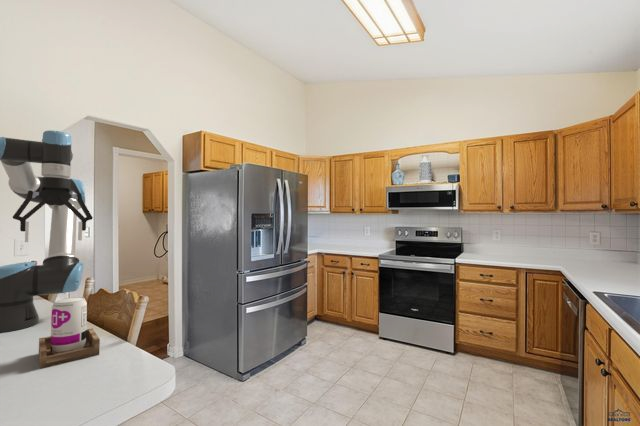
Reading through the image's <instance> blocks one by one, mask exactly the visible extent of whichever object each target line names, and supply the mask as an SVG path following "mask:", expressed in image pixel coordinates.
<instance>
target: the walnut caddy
mask: <svg viewBox="0 0 640 426" xmlns="http://www.w3.org/2000/svg"><path fill="white" fill-rule="evenodd" d="M97 334H98V333H96V331H95V330H94V328H86V346H85V347H84V348H82V349H78V350H73V351H69V352H64V353H60V354H55V355H53V354H52V353H50V352H51V335H50V336H45V337H40V338H38V359H39V368H40V369H44V368H49V367H53V366H58V365H61V364H66V363H70V362H73V361H78V360H83V359H86V358H91V357H95V356H100V347H101V346H100V345H101V344H100V343H101V341H100V337H99V336H98V335H97Z"/></svg>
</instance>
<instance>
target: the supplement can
mask: <svg viewBox="0 0 640 426" xmlns="http://www.w3.org/2000/svg"><path fill="white" fill-rule="evenodd" d="M85 298H86V297H83V296H73V297H72V296H71V297H64V298H60V299H56V300H55V301H54V303H53V304H52V306H51V319H50V320H51V321H50V322H51V326H50V327H51V328H50V336H51V352H50V353H52V354H53V355H55V354H60V353H64V352H69V351H73V350H78V349H82V348H84V347H85V346H86V330H87V323H88V322H87V319H88V317H87V316H88V315H87V314H88V312H87V311H88V302H87V300H86V299H85Z"/></svg>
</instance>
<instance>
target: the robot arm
mask: <svg viewBox="0 0 640 426" xmlns="http://www.w3.org/2000/svg"><path fill="white" fill-rule="evenodd" d="M72 144H73V142H72V136H71V134H69V133H67V132H64V131H59V130H50V129H49V130H45V131H43V132H42V139H41V141H37V140H36V141H35V140H30V139H29V140H26V139H19V138H12V137H10V138H9V137H4V136H0V164H1V165H2V167H3V169H4V171H5V172H6V175H7V177H8V186H9V189H10V190H11V191H12V192H13V193H14V194H15V195H17V196H18V197H19V198H22V199H24V201H22V204H20V206H19V208H18V209H17V210H16V211H15V213H14V214H13V216H12V219H13V220H17V221H19V222H20V224H19V226H20V227H19V230H20V232H25V233H24V242H25V243H28V242H29V227H30V226H29V223H30V221H26V220H28V219H29V218H30V217H31V216H32V215H34V214H35V213H36V212H37V211H38V210H40V209H41V208H42V207H44V206H45V205H47V206H48V207H49V208H50V209H51V218H50V220H51V222H50V232H49V233H50V234H49V243H48V244H49V245H48V253H47V254H48V255H47V257H45V258H44V259H43V261H42V264H39V265H37V264H35V262H34V261H25V262H16V263H11V264H7V265H6V264H5V265H2V266H0V333H7V332H12V331H18V330H22V329H26V328H29V327H33V326H34V325H35V326H36V325H37V324H39V321H40V317H39V313H38V311H37V309H36V307H35V304H34V297H36V296H38V297H39V296H47V295H58V294H66V293H73V292H76V291H78V290H79V289H80V286H81V282H82V277H83V270H84V263H83V262H81V261H80V258H79V257H77V256H76V245H77V244H76V239H77V241H83V239H82V238H83V232H85V231H86V229H87V222H88V221H92V220H93V216H92V214H91V212H90V211H89V209H88V207H87V206H86V194H85V192H86V191H85V186H84V183H83V181H82V180H80V179H75V178H71V176H72V174H71V169H72V167H71V166H72V165H71V162H72V160H73V157H74V154H73V151H72ZM32 163H33V164H34V163H35V164H41V169H40V170H41V172H40V173H41V174H40V175H41V176H37V175H35V172H34V171H33V167H32V165H31V164H32ZM30 202H33V203H38V204H37V205H35V206H34V207H33V208H32V209H30V210H29V211H28V212H27V213H26V214H24V215H23V216H21V215H22V213H23V212H24V210H25V209H26V207H27V206H28V205H29V204H30ZM80 209H81V210H82V213H84V215H85V216H84V215H83V214H82V213H81V212H80V211H79V210H80ZM77 218H78V219H79V220H80V221H78V219H77ZM77 221H78V227H77ZM77 229H78V230H77ZM77 231H78V232H77ZM76 237H77V238H76Z"/></svg>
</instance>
